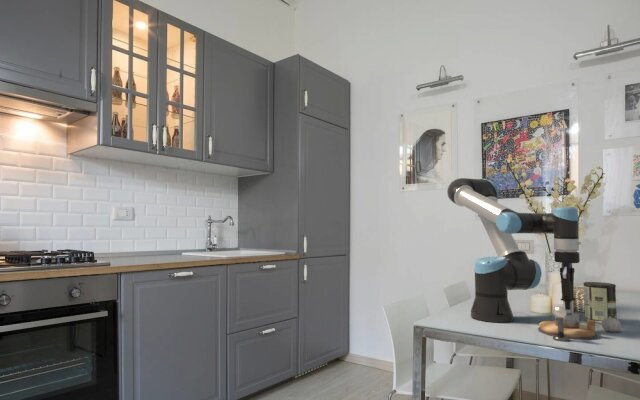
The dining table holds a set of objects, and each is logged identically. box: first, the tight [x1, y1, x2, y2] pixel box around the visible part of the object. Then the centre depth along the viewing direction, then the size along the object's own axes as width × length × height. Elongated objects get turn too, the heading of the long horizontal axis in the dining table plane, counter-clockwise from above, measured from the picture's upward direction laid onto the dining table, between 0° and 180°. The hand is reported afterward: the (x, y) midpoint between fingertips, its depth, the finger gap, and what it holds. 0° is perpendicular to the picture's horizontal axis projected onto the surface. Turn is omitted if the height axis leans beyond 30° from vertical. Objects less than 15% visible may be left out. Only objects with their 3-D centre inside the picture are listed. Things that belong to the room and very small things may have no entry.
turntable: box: [539, 320, 596, 338], centre depth 138 cm, size 16×16×5 cm
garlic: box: [601, 316, 622, 333], centre depth 141 cm, size 6×5×5 cm
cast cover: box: [554, 309, 580, 329], centre depth 139 cm, size 7×7×6 cm
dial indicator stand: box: [552, 306, 570, 342], centre depth 131 cm, size 4×7×10 cm, turn 141°
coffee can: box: [582, 281, 618, 324], centre depth 157 cm, size 10×10×14 cm
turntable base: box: [537, 326, 598, 341], centre depth 138 cm, size 17×17×1 cm
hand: (568, 319), depth 142 cm, fingers closed
